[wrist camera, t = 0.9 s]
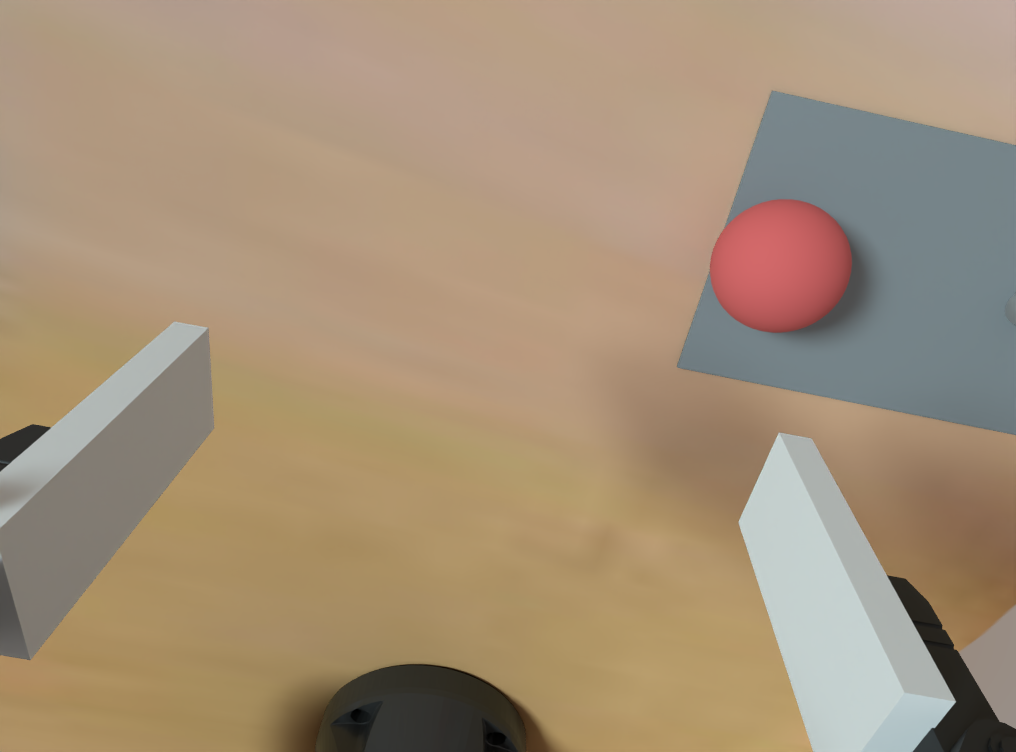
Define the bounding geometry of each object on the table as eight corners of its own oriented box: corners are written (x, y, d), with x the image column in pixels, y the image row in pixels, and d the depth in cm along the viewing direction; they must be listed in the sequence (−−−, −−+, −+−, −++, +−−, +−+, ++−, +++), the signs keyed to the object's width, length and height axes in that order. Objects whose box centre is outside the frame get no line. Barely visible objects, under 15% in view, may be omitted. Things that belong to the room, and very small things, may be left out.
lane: (1125, 455, 38) (1127, 457, 38) (677, 365, 37) (677, 367, 37) (1301, 209, 32) (1305, 210, 32) (772, 90, 31) (773, 91, 31)
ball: (793, 316, 35) (840, 365, 30) (681, 293, 35) (708, 339, 30) (841, 201, 33) (901, 233, 27) (720, 175, 32) (758, 202, 27)
